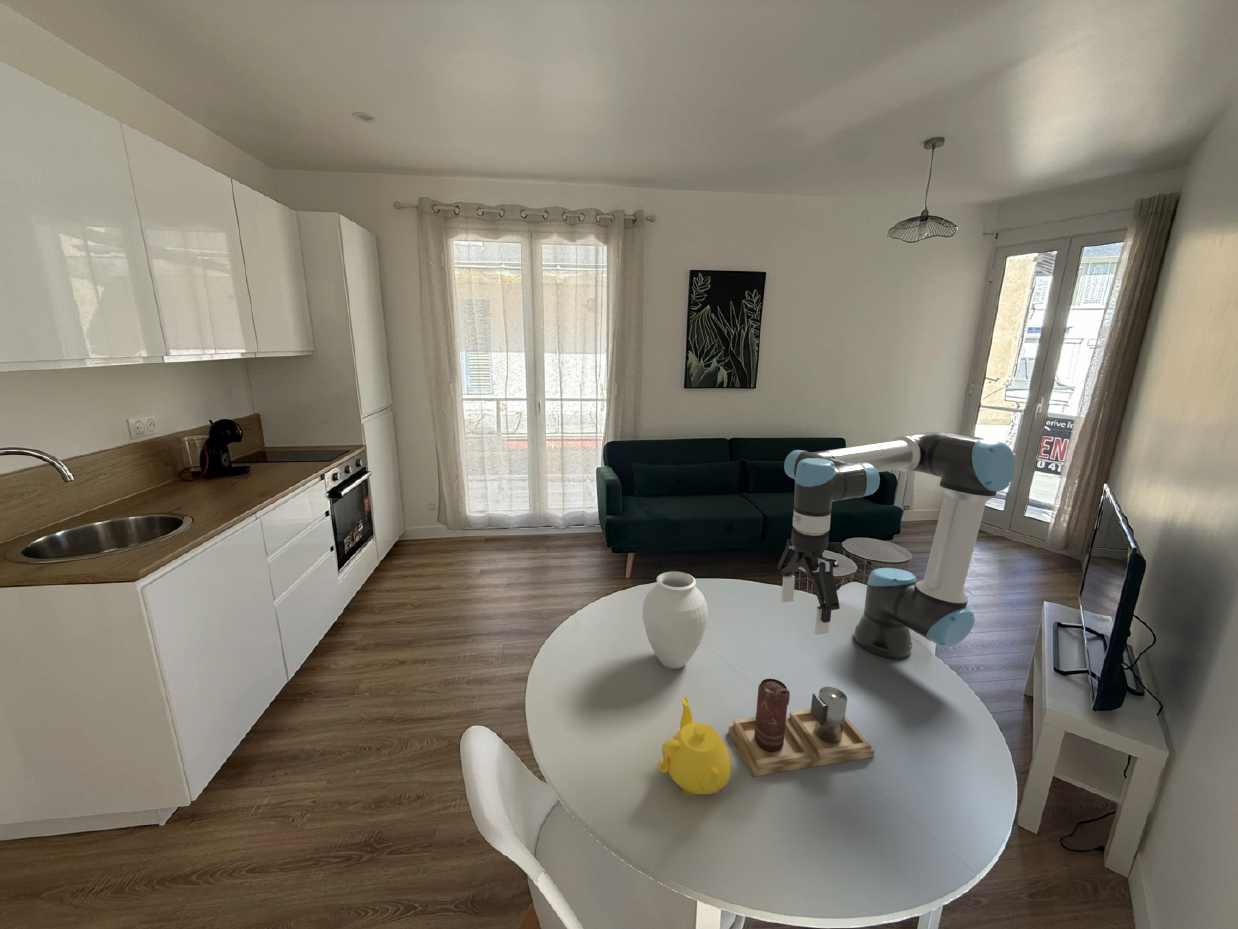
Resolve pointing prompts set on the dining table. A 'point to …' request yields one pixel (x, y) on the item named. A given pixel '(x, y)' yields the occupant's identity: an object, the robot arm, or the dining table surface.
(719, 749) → the teapot
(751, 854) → the dining table surface
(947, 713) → the dining table surface
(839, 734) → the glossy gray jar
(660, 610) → the vase
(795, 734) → the tray
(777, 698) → the can
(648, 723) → the dining table surface
